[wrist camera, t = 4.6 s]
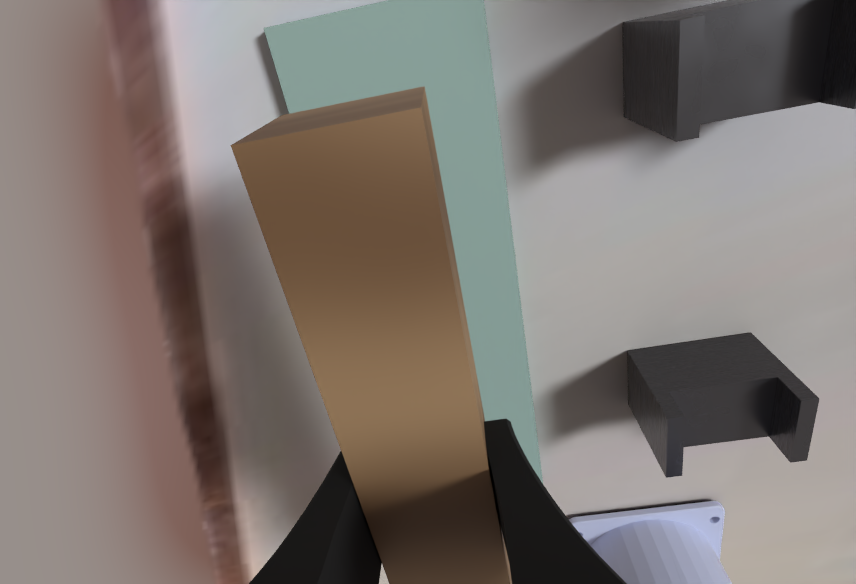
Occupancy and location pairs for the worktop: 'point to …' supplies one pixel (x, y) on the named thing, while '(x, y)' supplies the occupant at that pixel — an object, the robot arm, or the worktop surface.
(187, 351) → the worktop surface
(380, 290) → the rail
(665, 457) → the post
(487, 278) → the mat
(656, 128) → the post
